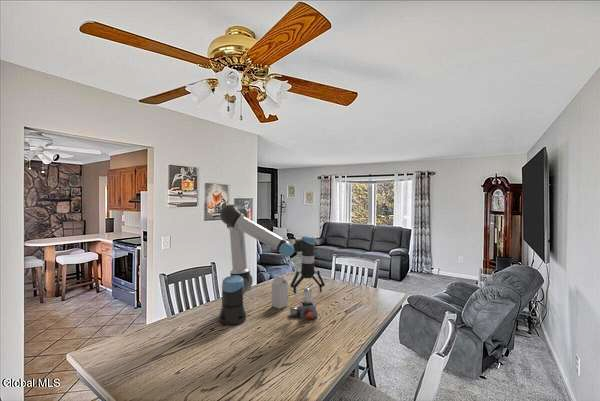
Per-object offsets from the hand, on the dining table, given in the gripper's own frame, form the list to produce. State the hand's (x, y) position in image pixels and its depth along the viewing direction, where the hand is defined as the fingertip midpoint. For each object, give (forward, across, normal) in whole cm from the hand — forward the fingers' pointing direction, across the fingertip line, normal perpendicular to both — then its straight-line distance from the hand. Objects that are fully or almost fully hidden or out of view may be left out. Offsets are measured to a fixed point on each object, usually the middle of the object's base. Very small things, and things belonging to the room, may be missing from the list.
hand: (307, 298), depth 169 cm
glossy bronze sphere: (+10, +4, +8) cm, 13 cm away
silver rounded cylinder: (+6, 0, 0) cm, 6 cm away
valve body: (+10, -3, -1) cm, 10 cm away
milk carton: (+10, -15, +16) cm, 24 cm away
